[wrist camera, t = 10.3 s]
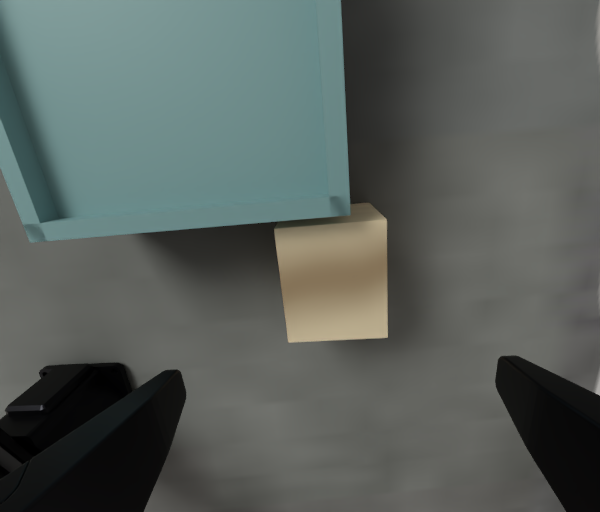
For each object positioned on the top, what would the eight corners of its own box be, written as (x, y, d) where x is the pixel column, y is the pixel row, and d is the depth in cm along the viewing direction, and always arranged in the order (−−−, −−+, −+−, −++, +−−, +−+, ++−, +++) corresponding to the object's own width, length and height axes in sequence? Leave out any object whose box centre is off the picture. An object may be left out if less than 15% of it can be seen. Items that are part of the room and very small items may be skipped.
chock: (371, 293, 20) (387, 337, 15) (295, 298, 20) (288, 342, 15) (368, 202, 18) (386, 219, 13) (285, 209, 18) (273, 228, 14)
